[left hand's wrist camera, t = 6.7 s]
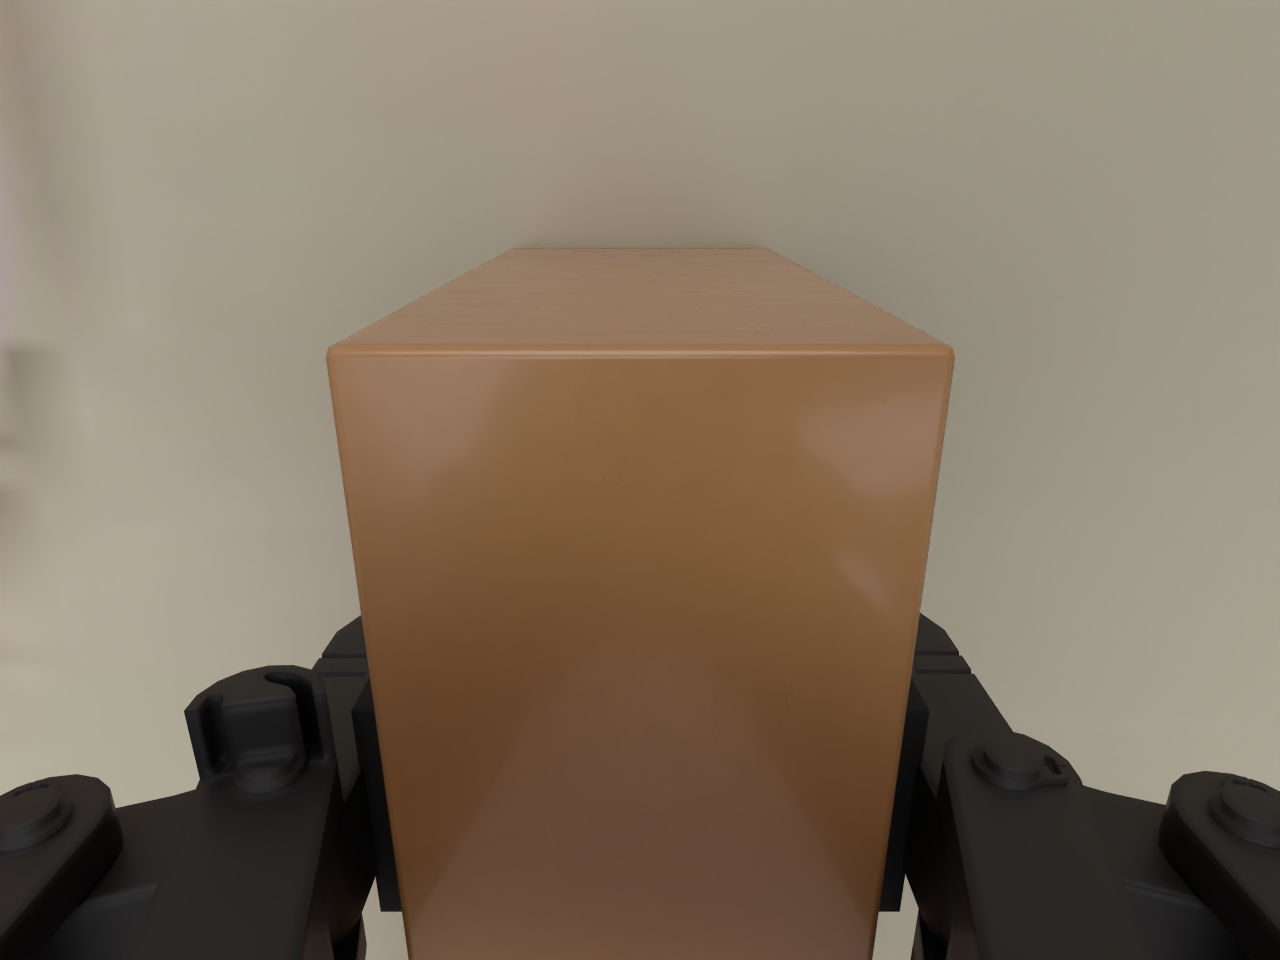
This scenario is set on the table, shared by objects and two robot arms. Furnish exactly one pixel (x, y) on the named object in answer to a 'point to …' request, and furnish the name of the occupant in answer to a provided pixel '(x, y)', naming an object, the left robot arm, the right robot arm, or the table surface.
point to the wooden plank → (640, 599)
